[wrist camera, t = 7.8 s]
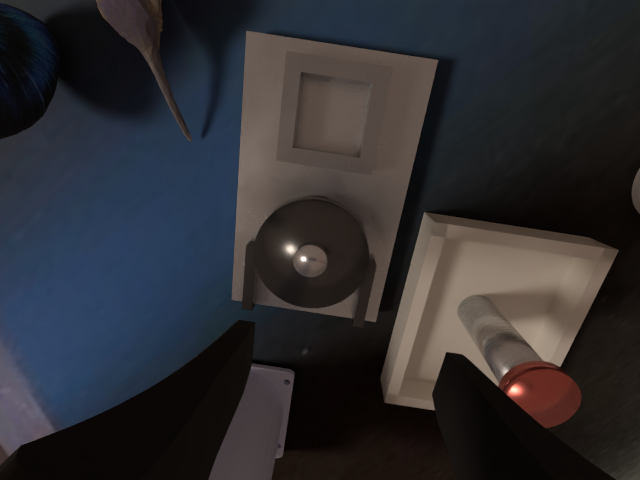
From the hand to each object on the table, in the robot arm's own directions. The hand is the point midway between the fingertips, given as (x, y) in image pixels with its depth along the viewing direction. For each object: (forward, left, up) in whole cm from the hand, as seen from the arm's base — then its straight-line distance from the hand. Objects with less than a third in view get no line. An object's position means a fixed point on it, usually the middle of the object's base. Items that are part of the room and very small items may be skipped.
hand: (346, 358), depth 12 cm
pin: (-2, -10, -10) cm, 14 cm away
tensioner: (+4, +2, -10) cm, 11 cm away
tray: (-3, -10, -10) cm, 15 cm away
